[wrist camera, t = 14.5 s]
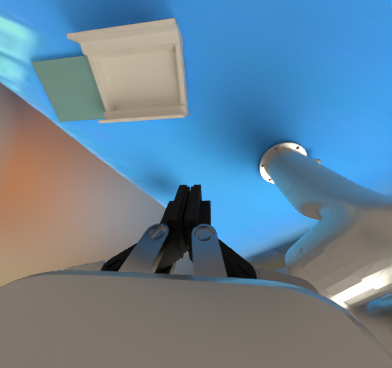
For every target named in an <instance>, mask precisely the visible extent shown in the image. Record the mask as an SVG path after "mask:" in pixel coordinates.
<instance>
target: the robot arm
mask: <svg viewBox="0 0 392 368" xmlns="http://www.w3.org/2000/svg"><path fill="white" fill-rule="evenodd" d="M275 147H276V148H275ZM320 163H321V161H320V159H314V160H312V159H311V158H309V157H307V154H306V151H305V150H304V148H303V147H302V146H300V145H298V144H296V143H294V142H282V143H278V144H276V145H274V146H272V147H270V148H269V149H268V150H267V151H266V152H265V153H264V154H263V156H262V157H261V159H260V162H259V172H260V174H261V176H262V177H263V178H264V179H265V180H266V181H268V182H270V183H274V184H275V185H276V186H277V187H278V188H279V190H280V191H281V192H282V193H283V194H284V196H285V197H286V198H287V199H288V201H289V202H290V203H291V204H292V206H293V207H294V208H295V209H296V210H297V211H298V212H299V213H301V214H303V215H304V216H307V217H309V218H313V219H317V220H319V222H318V223H317V224H316V225H314V226H313V227H312V229H311V230H309V231H308V232H307V233H306V234H305V235H304V236H303V237H301V238H300V239H299V240H298V241H297V242H296V243H295V244H294V245H293V246H292V247H291V248H290V249H289V250H288V251H287V253H286V256H285V264H286V267H287V270H288V272H289V274H290V275H288V274H284V273H280V272H276V271H272V270H269V269H265V268H261V267H260V268H259V269H257V268H253V266H252V265H251V264H250V263H248V262H247V261H246V260H245V259H243V258H242V257H241V256H240V255H238V254H237V253H236V252H235V251H233V250H232V249H231V248H229V247H228V246H227V245H226V244H224V243H223V242H222V241H221V240H219V239H218V237H217V232H216V230H215V228H214V227H212V226H211V205H210V201H202V195H201V185H194V187H191V190H190V187H187V185H180V186H179V188H178V191H177V194H176V197H175V199H174V201H169V203H168V205H167V208H166V210H165V213H164V215H163V218H162V220H161V222H160V224H155V225H153V226H151V227H149V228H148V229H147V230H146V232H145V233H144V234H143V236H142V237H141V239H140V240H139V242H138V243H136V244H135V245H133V246H131V247H130V248H128V249H126V250H124V251H123V252H121V253H119V254H118V255H116V256H114V257H113V258H111V259H110V260H108V261H107V262H105V261H100V262H94V263H89V264H83V265H78V266H72V267H69V268H66V269H65V270H58V271H50V272H44V273H39V274H34V275H30V276H27V277H24V278H21V279H18V280H15V281H13V282H11V283H8V284H6V285H4V286H2V287H0V368H392V295H391V296H388V297H386V298H379V297H381V296H384V295H386V294H388V293H392V198H391V197H389V196H386V195H383V194H381V193H378V192H375V191H373V190H371V189H368V188H366V187H363V186H361V185H359V184H357V183H355V182H353V181H351V180H349V179H347V178H345V177H343V176H341V175H340V174H338V173H336V172H334V171H332V170H330V169H328V168H327V167H325V166H323V165H321V164H320ZM187 247H188V253H189V258H190V260H191V261H192V262H193V272H194V273H193V274H194V275H177V274H176V275H175V274H173V272H174V269H175V266H176V261H177V260H179V259H180V258H183V255H184V253H187Z"/></svg>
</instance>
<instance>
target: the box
mask: <svg viewBox="0 0 392 368" xmlns="http://www.w3.org/2000/svg"><path fill="white" fill-rule="evenodd" d="M66 35H67V37H68V39H70V40H72V41H75V42H77V43H79V44H80V45H81V48H82V51H83V54H84V55H86V56H87V57H88V60H89V63H90V66H91V69H92V72H93V75H94V78H95V81H96V84H97V87H98V89H99V92H100V95H101V98H102V101H103V104H104V107H105V110H106V112H104V115H105V118H106V119H105V120H98V121H99V123H111V122H126V121H140V120H155V119H169V118H184V117H186V116H188V115H189V110H188V98H187V86H186V74H185V62H184V50H183V38H182V35H181V33H180V30H179V28H178V25H177V23H176V20H175V18H172V19H165V20H158V21H151V22H144V23H137V24H130V25H124V26H117V27H110V28H103V29H96V30H89V31H82V32H76V33H69V34H66Z"/></svg>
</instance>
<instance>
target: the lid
mask: <svg viewBox="0 0 392 368" xmlns="http://www.w3.org/2000/svg"><path fill="white" fill-rule="evenodd" d="M31 63H32V65H33V67H34V69H35V71H36V73H37V75H38V77H39V79H40V81H41V83H42V85H43V87H44V89H45V91H46V93H47V95H48V97H49V99H50V102H51V104H52V106H53V108H54V110H55V112H56V114H57V116H58V118H59V120H60V122H64V121H78V120H92V119H105V115H104V112H106V110H105V107H104V104H103V101H102V98H101V95H100V92H99V89H98V87H97V84H96V81H95V78H94V75H93V72H92V69H91V66H90V63H89V60H88V57H87V56H86V55H85V56H77V57H69V58H61V59H52V60H44V61H36V62H31Z"/></svg>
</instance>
